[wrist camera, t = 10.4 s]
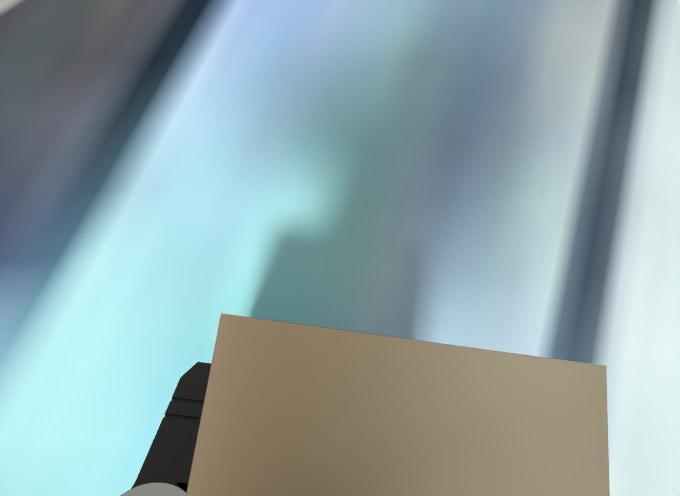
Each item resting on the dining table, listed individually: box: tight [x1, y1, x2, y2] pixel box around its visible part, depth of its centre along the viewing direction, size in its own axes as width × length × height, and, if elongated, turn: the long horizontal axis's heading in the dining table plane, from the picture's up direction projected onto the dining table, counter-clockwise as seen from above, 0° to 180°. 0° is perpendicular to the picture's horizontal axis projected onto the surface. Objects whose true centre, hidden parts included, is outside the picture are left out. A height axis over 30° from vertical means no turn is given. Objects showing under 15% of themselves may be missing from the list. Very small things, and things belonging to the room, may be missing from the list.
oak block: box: [186, 314, 609, 496], centre depth 10 cm, size 4×4×10 cm
